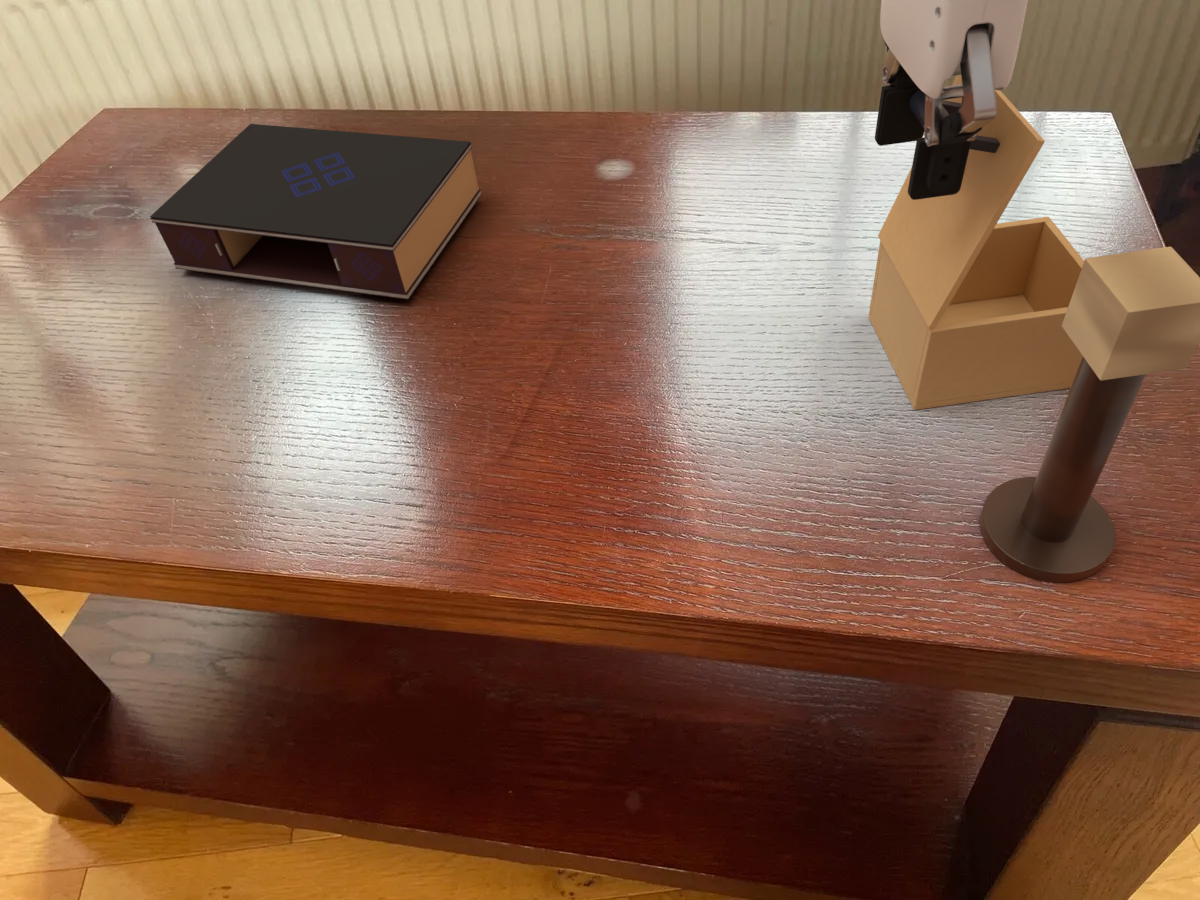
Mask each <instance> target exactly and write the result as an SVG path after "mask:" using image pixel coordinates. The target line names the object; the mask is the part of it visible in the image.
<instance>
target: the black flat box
mask: <svg viewBox="0 0 1200 900" xmlns="http://www.w3.org/2000/svg"><path fill="white" fill-rule="evenodd" d="M472 148H473V146H472V143H471V141H468V140H467V141H466V140H454V139H441V138H431V137H430V138H429V137H420V136H419V137H418V136H406V135H394V134H382V133H381V134H380V133H368V132H357V131H343V130H332V129H319V128H310V127H309V128H307V127H296V126H283V125H270V124H260V123H259V124H258V123H249V124H248V125H247V126H246V127H245V128H244V129H243V130H242V131H241V132H239V134H237V135H236V136H235V137H234V138H233V139H232V140H231V141H230V142H229V143H227V144H226V145H225V146H224V147H223V148H222V149H221V150H220V151H219V152H218V153H217V154H216V155H215V156H213V157H212V158H211V160H210V161H208V162H207V163H206V164H205V165H204V166H203V167H202V168H201V169H199V170H198V171H197V172H196V173H195V174H194V175H193V176H192V177H191V178H190V179H189V180H188V181H186V183H184V185H182V186H181V187H180V188H179V189H178V190H177V191H175V193H174V194H172V196H170V197H169V198H168V199H167V200H166V201H165V202H164V203H163V204H162V205H161V206H159V207H158V208H157V209H156V210H155V211H154V212H153V213H151V215H150V216H149V220H151V223H152V224H155V226H156V228H157V230H158V232H159V234H160V236H161V238H162V240H163V242H164V244H165V245H166V248H167V249H168V251H169V254H170V255H171V258H172V260H173V261H174V262H173V265H174V267H175V269H176V270H184V271H189V272H190V271H191V272H198V273H206V274H212V275H213V274H214V275H220V276H228V277H236V278H242V279H243V278H244V279H250V280H258V281H265V282H274V283H281V284H289V285H295V286H302V287H310V288H318V289H324V290H333V291H341V292H349V293H356V294H364V295H371V296H377V297H385V298H392V299H399V300H410V298H411V296H412V295H413V293H414V292H415V291H416V289H417V288H418V286H419V285H420V283H422V281H423V280H424V278H425V276H426V275H427V274H428V272H429V270H430V269H431V268H432V267H433V265H434V264H435V262H436V261H437V259H438V258H439V257H440V255H441V254H442V253H443V251H444V249H445V248H446V246H447V245H448V244H449V242H450V241H451V239H452V238H453V236H454V235H455V233H456V232H457V231H458V229H459V228H460V227H461V225H462V223H463V222H464V221H465V219H466V218H467V216H468V215H469V213H470V212H471V211H472V209H473V208H474V206H476V204H477V202H478V201H479V199H480V197H481V196H482V189H479V185H478V179H477V173H476V171H475V165H474V161H473V155H472V151H471V149H472Z"/></svg>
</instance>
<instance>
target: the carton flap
mask: <svg viewBox="0 0 1200 900" xmlns="http://www.w3.org/2000/svg"><path fill="white" fill-rule="evenodd" d="M958 84H962V77H961V75H956V76H955V78H954V80H953V82H952V84H951V85H958ZM995 97H996V106H997V114H996V117H995V119H994V120H993V121H991V122H990V123H988V124H987V125H985V126H984V127H982V129H981V131H979V132H978V133H977V137H976V139H975V140H974V141H971V145H970V149H969V153H968V158H967V162H966V167H965V171H964V176H963V180H962V184H961V189H960V191H959V192H958V193H956V194H954V195H947V196H939V197H932V198H925V199H918V200H913V199H911V197H910V196H909V194H908V186H909V181H910V175H911V170H912V166H911V167H910V170H909V172H908V173H907V175H906V177H905V179H904V182H903V184H902V186H901V188H900V190H899V191H898V194H897V195H896V198H895V200H894V202H893V203H892V206H891V208H890V209H889V212H888V215H887V217H886V218H885V220H884V223H883V225H882V227H881V228H880V230H879V232H878V235H877V237H878V239H879V242H880V241H881V242H882V244H883V246H884V248H885V250H886V251H887V253H888V255H889V257H890V259H891V260H892V262H893V264H894V266H895V268H896V269H897V271H898V273H899V275H900V277H901V278H902V280H903V282H904V284H905V286H906V287H907V289H908V291H909V293H910V295H911V296H912V298H913V300H914V302H915V304H916V305H917V307H918V309H919V311H920V313H921V314H922V316H923V318H924V320H925V322H926V323H927V325H928V327H929V328H936V326H937V324H938V322H939V321H940V319H941V317H942V316H943V314H944V312H945V311H946V309H947V307H948V305H949V304H950V302H951V300H952V299H953V297H954V295H955V294H956V292H957V290H958V288H959V287H960V285H961V283H962V282H963V280H964V278H965V277H966V275H967V273H968V271H969V270H970V268H971V266H972V265H973V263H974V261H975V260H976V258H977V256H978V254H979V253H980V251H981V249H982V248H983V246H984V244H985V243H986V241H987V239H988V237H989V236H990V234H991V232H992V231H993V229H994V227H995V226H996V224H998V222H999V221H1000V219H1001V217H1002V215H1003V214H1004V212H1005V211H1006V209H1007V207H1008V206H1009V203H1010V202H1011V200H1012V198H1013V197H1014V195H1015V193H1016V192H1017V190H1018V189H1019V186H1020V185H1021V183H1022V181H1023V180H1024V178H1025V177H1026V175H1027V172H1029V169H1030V168H1031V166H1032V164H1033V163H1034V161H1035V159H1036V158H1037V156H1038V155H1039V153H1040V151H1041V149H1042V147H1043V146H1044V144H1045V142H1046V141H1045V139H1044V138H1043V137H1042V136H1041V135H1040V134H1039V133H1038V131H1037V130H1036V129H1035V128H1034V127H1033V126H1032V125H1031V124H1030V122H1029V121H1028V120H1027V119H1026V118H1025V116H1024V115H1023V114H1022V113H1021V112H1020V111H1019V110H1018V109H1017V107H1015V105H1014V104H1013V103H1012V102H1011V101H1010V100H1009V98H1008V97H1006V95H1005V94H1004V92H1002V90H995ZM909 107H910V109H911V111H912V112H913V113H914V115H915V116H916V118H917V119H918V120H919V122H920V123H921V125H922V126H923V127H924V125H925V93H924V92H923V91H921V90H919V91H917V92H915V93H914V94H913V95H912V97H911V98H910V101H909ZM961 107H962V97H961V98H954V99H946V100H942V109H941V120H942V119H944V118H945V117H946V116H947V115H949V114H950V113H953V112H957V111H959V108H961Z"/></svg>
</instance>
